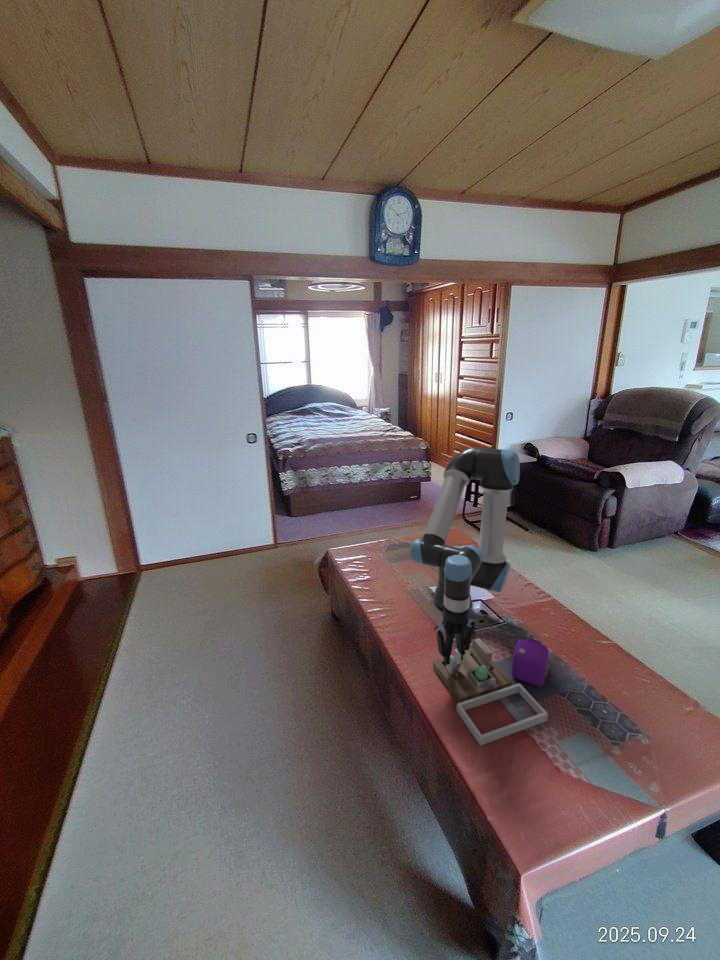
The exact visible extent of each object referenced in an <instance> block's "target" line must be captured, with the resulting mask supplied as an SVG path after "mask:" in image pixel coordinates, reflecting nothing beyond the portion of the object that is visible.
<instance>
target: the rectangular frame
mask: <svg viewBox="0 0 720 960" xmlns="http://www.w3.org/2000/svg"><path fill="white" fill-rule="evenodd" d="M515 694H519V695H520V696H521V697H522V699H523V700H524V701H526V703H527V704H528V705H529V706H530V707H531V708H532V709H533V710H534V711H535V713H536V715H532V716H529V717H527V718H525V719H521V720H519V721H516V722H514V723H510V724H508V725H505V726H502V727H500V728H497V729H494V730H491V731H489V732H488V731H487V732H486V733H483V734H482V733H481V732H480V730H479V729H478V727H477V726H476V724H475V723H474V722H473V720H472V719H471V718H470V716H469V715H468V712H466V711H467V710H470V709H473V708H474V709H475V708H476V707H480V706H483V705H485V704H488V703H491V702H495V701H498V700H500V699H504V698H506V697H509V696H512V695H515ZM456 712H457V714H458V716H460V718H461V719H462V721H463V723H464V724H465V726H466V727H467V728H468V730H469V732H470V733H471V734H472V735H473V737H474V738H475V740H476V742H477V743H478V744H479V746H480V747H481V746H484V745H486V744H488V743H491V742H493V741H496V740H500V739H502V738H505V737H508V736H510V735H512V734H516V733H518V732H521V731H523V730H526V729H529V728H533V727H535V726H537V725H540V724H542V723H545V722H548V718H549V717H548V716H549V713H548V712H547V711H546V710H545V709H544V707H543V706H542V705H541V704H539V702H538V701H537V700H536V699H535V698H534V696H532V694H530V693H529V692H528V690H526V688H525V687H524V686H523V685H522V684H521V683H516V684H512V686H509V687H506V688H503V689H500V690H497V691H494V692H491V693H488V694H485V695H482V696H479V697H476V698H473V699H470V700H467V701H464V702H461V703H458V702H457V703H456Z"/></svg>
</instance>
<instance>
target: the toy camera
mask: <svg viewBox="0 0 720 960" xmlns="http://www.w3.org/2000/svg"><path fill="white" fill-rule="evenodd" d="M549 650H550V649H549V648H548V647H547V646H546V645H543V644H542V643H541V641H539V640H538V639H535V638H527V639H522V638H520V639H518V641H517V643H516V645H515V649H514V653H513V655H512V666H511V675H512V677H513V678H515V680H519V681H522V682H525V683H527V684H531V685H533V686H537V687H542V686H543V685H544V683H545V680H546V677H548V673H549V667H550V662H549V653H550V652H549Z"/></svg>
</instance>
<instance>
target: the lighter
mask: <svg viewBox="0 0 720 960" xmlns="http://www.w3.org/2000/svg"><path fill="white" fill-rule="evenodd" d="M461 664H462V661H461V659H457V660H455V661H454V659H453V670H452V674H450V675H451V676H452V677H453V676H456V669H458V668H459V667H460V666H461ZM445 668H446V663H445Z"/></svg>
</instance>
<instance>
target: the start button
mask: <svg viewBox="0 0 720 960" xmlns="http://www.w3.org/2000/svg"><path fill="white" fill-rule="evenodd" d="M487 676H488V670H487V669H486V668H485V667H482V666H478V667H476V669H475V677H476V679H477V680H478V681H479V682H481V681H484V680H487Z"/></svg>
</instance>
